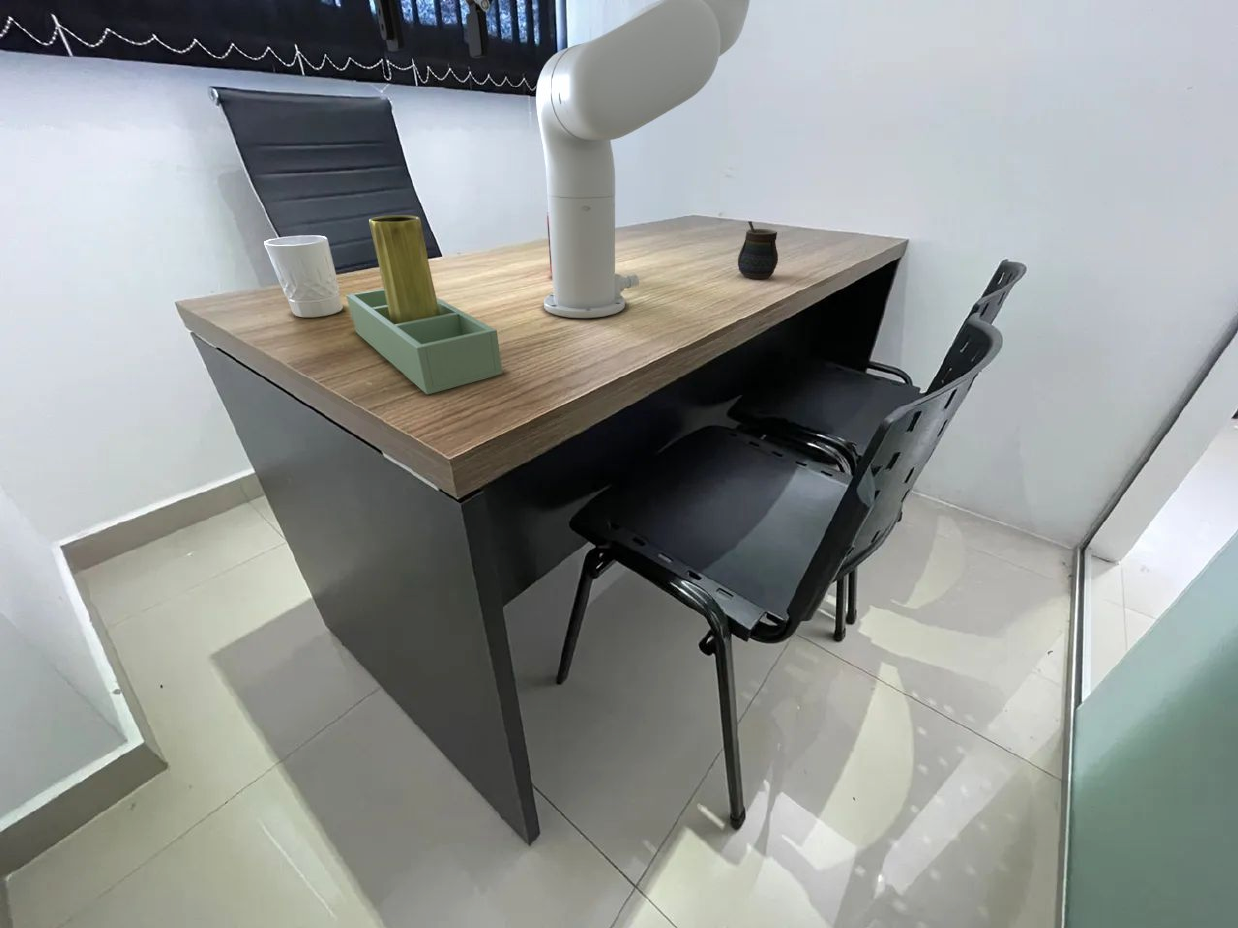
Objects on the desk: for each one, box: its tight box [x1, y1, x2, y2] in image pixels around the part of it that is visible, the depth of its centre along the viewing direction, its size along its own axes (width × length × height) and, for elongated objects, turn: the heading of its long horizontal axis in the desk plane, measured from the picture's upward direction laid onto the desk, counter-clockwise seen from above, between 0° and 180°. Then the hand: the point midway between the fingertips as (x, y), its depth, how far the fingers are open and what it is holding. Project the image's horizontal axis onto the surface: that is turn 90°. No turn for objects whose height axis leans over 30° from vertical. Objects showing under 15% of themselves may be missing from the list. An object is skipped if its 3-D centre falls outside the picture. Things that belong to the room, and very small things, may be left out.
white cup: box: [263, 235, 344, 319], centre depth 75 cm, size 8×8×10 cm
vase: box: [368, 214, 440, 325], centre depth 59 cm, size 6×6×14 cm
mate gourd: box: [737, 220, 779, 280], centre depth 94 cm, size 7×8×10 cm
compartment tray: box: [345, 288, 503, 396], centre depth 62 cm, size 9×25×5 cm, turn 39°
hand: (439, 54), depth 57 cm, fingers open, 9 cm apart
